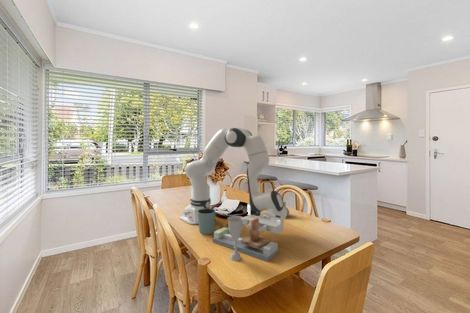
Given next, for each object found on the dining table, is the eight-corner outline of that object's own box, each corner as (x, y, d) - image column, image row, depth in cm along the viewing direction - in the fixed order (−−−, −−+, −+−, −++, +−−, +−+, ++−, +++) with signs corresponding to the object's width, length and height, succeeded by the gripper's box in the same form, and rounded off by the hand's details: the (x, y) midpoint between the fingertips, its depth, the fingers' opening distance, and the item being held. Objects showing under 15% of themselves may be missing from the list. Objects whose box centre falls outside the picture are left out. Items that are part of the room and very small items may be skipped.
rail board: (212, 241, 121) (212, 232, 120) (225, 235, 129) (225, 226, 128) (267, 261, 102) (267, 250, 101) (278, 252, 110) (278, 242, 109)
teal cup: (212, 235, 128) (212, 214, 127) (194, 234, 130) (194, 212, 129) (217, 228, 138) (217, 208, 137) (201, 227, 140) (200, 207, 139)
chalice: (243, 253, 109) (243, 215, 107) (244, 261, 102) (244, 221, 100) (227, 254, 108) (227, 215, 107) (227, 261, 102) (227, 221, 100)
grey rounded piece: (271, 213, 165) (272, 199, 164) (282, 212, 167) (282, 198, 167) (279, 219, 155) (279, 204, 154) (290, 217, 157) (290, 203, 156)
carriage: (240, 243, 111) (240, 219, 110) (250, 237, 118) (250, 214, 117) (259, 249, 105) (259, 224, 104) (267, 242, 112) (268, 219, 111)
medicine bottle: (250, 217, 157) (250, 200, 156) (247, 214, 164) (247, 197, 163) (260, 216, 159) (260, 199, 158) (256, 213, 166) (256, 196, 165)
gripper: (251, 210, 127) (235, 217, 116) (286, 218, 115) (272, 227, 104) (250, 221, 128) (235, 229, 117) (286, 230, 115) (272, 240, 104)
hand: (253, 228), depth 110 cm, fingers closed on carriage, 4 cm apart
